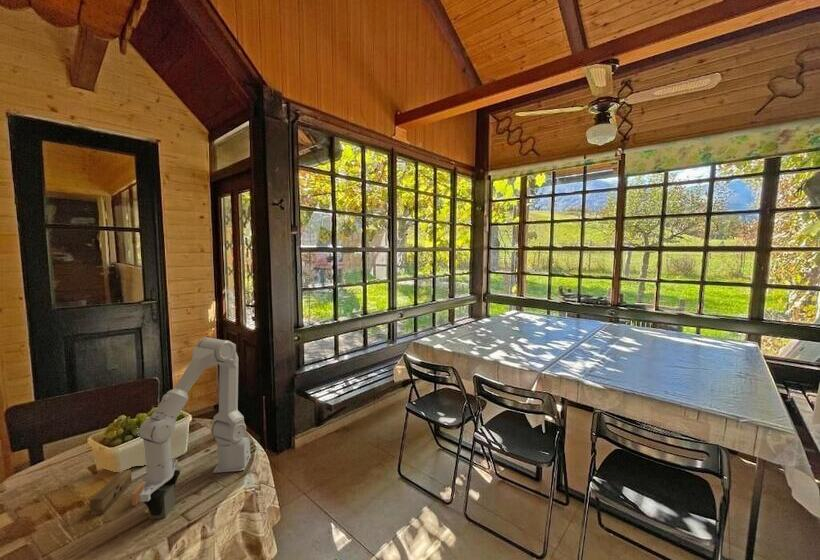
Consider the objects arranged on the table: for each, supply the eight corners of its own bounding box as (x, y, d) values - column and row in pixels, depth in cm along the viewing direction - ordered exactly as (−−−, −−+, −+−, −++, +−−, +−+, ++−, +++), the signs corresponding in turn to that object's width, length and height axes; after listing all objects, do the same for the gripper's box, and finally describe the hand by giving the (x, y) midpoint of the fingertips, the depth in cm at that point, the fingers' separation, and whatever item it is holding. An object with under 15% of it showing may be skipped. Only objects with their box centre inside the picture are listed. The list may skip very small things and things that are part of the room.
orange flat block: (152, 485, 106) (152, 474, 106) (136, 505, 99) (135, 493, 98) (149, 485, 106) (148, 475, 106) (132, 505, 98) (131, 494, 98)
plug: (175, 504, 100) (174, 484, 99) (165, 517, 95) (164, 497, 94) (154, 505, 99) (152, 486, 98) (143, 519, 94) (141, 499, 93)
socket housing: (132, 483, 108) (131, 469, 107) (104, 513, 96) (102, 498, 95) (121, 484, 107) (120, 470, 107) (91, 514, 95) (89, 499, 95)
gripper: (158, 446, 102) (161, 489, 103) (124, 479, 87) (129, 529, 89) (184, 444, 103) (187, 487, 104) (155, 477, 88) (159, 526, 90)
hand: (162, 506), depth 97 cm, fingers closed on plug, 5 cm apart
